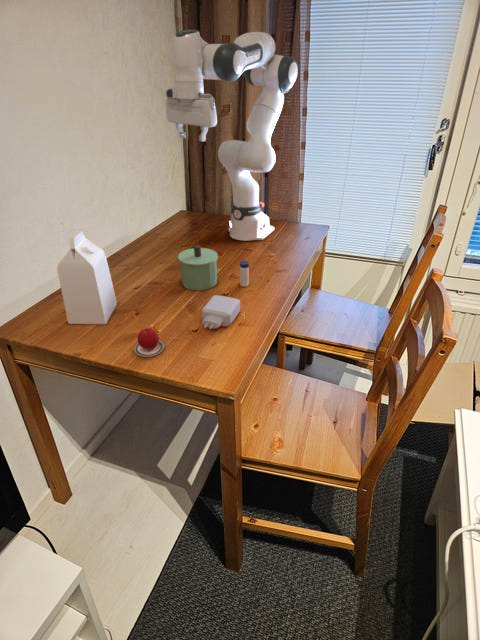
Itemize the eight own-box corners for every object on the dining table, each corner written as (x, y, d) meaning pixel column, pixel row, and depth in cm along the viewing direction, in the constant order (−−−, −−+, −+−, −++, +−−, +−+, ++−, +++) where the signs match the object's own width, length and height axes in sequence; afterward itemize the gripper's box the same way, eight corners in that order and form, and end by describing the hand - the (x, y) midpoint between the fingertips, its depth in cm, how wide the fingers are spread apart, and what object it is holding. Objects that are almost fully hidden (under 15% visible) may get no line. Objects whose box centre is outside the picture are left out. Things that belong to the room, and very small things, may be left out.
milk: (82, 303, 134) (63, 226, 120) (117, 303, 134) (102, 227, 119) (68, 323, 124) (46, 242, 110) (105, 324, 124) (88, 242, 109)
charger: (193, 332, 120) (213, 307, 132) (222, 338, 117) (240, 312, 129) (192, 318, 117) (212, 294, 129) (222, 324, 115) (240, 299, 127)
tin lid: (196, 247, 150) (196, 235, 147) (225, 257, 143) (225, 244, 140) (170, 260, 141) (168, 247, 138) (199, 271, 134) (198, 257, 131)
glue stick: (243, 281, 147) (243, 259, 142) (250, 284, 145) (250, 262, 140) (238, 285, 144) (238, 263, 140) (245, 287, 143) (245, 265, 138)
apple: (128, 354, 111) (125, 334, 108) (144, 338, 117) (141, 319, 114) (154, 360, 109) (151, 340, 105) (169, 344, 115) (167, 324, 111)
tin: (198, 270, 154) (196, 247, 149) (224, 280, 148) (223, 255, 142) (174, 283, 146) (171, 258, 140) (200, 293, 139) (199, 268, 134)
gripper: (221, 93, 126) (221, 141, 134) (175, 90, 137) (178, 135, 145) (206, 94, 122) (208, 144, 129) (161, 91, 133) (164, 137, 140)
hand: (192, 139), depth 137 cm, fingers open, 8 cm apart
